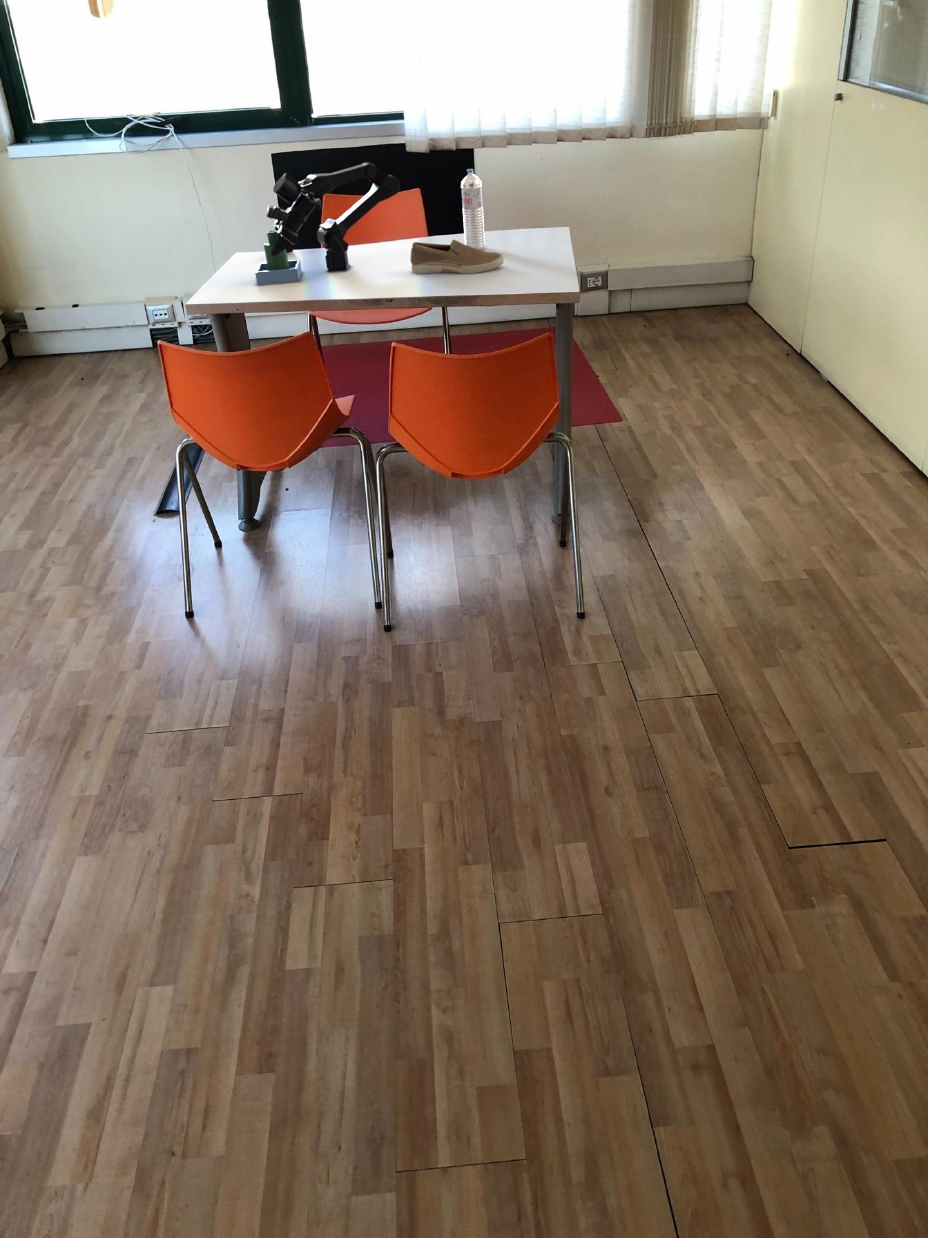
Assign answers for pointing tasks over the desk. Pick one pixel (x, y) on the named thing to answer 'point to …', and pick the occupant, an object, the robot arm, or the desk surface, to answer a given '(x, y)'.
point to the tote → (278, 274)
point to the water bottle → (473, 211)
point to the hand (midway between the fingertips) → (271, 252)
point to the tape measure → (289, 250)
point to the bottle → (277, 260)
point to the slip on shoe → (452, 258)
